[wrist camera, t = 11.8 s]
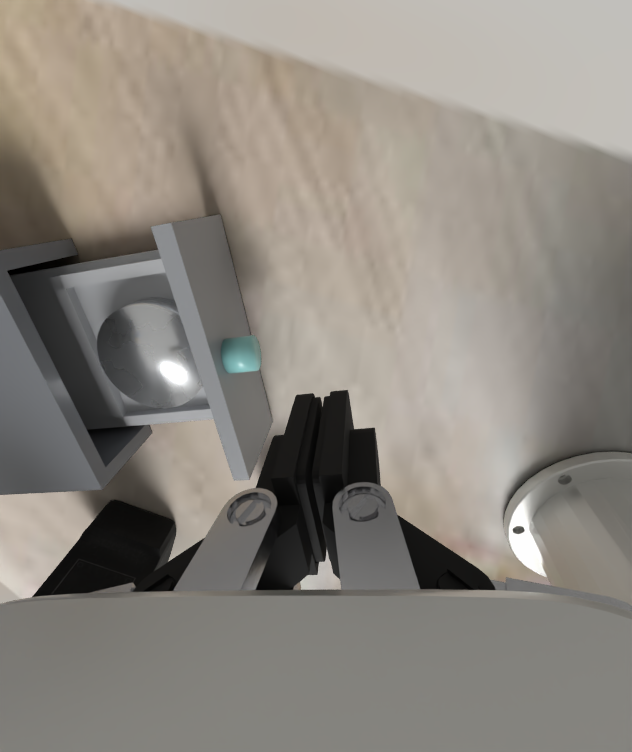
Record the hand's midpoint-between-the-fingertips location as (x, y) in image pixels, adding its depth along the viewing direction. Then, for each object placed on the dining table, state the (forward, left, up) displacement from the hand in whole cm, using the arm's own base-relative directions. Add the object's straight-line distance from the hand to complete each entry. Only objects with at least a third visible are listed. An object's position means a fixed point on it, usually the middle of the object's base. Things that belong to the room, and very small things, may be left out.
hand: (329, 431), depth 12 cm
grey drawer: (+13, 0, -13) cm, 19 cm away
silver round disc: (+12, +1, -12) cm, 17 cm away
